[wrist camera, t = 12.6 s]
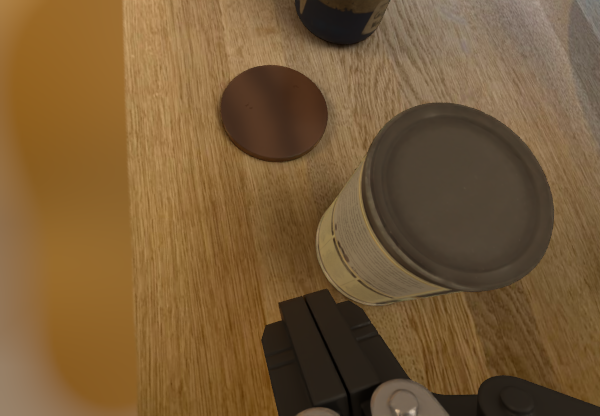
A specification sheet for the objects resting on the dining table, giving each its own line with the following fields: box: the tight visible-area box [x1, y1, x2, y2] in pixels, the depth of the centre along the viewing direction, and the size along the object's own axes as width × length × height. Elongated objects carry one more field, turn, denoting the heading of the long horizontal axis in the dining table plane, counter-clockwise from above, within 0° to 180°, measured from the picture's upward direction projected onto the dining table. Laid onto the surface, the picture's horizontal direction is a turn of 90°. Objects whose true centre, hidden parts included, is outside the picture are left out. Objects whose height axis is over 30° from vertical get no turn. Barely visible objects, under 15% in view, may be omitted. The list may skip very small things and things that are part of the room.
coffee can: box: [316, 103, 554, 306], centre depth 25 cm, size 10×10×14 cm
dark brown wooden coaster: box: [221, 65, 328, 162], centre depth 34 cm, size 10×10×1 cm
